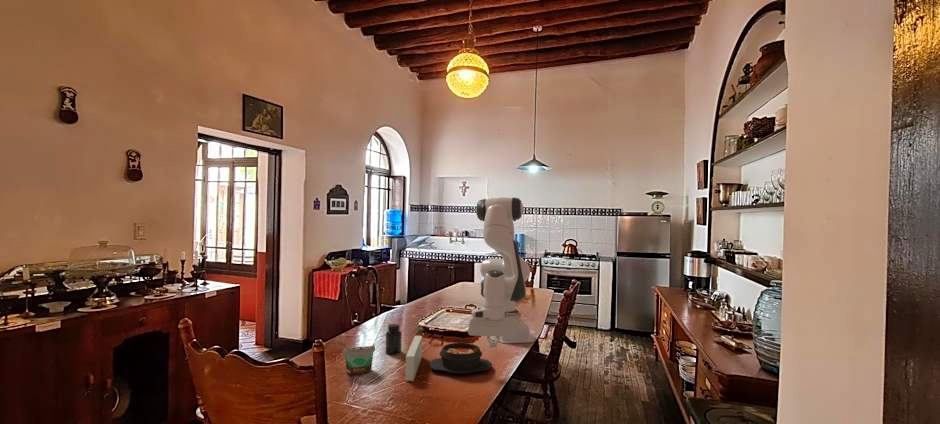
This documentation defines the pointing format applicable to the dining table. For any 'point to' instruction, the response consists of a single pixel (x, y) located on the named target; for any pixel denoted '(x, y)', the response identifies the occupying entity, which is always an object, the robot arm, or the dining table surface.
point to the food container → (359, 360)
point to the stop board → (413, 358)
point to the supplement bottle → (393, 340)
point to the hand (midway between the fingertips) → (493, 347)
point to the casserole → (460, 359)
